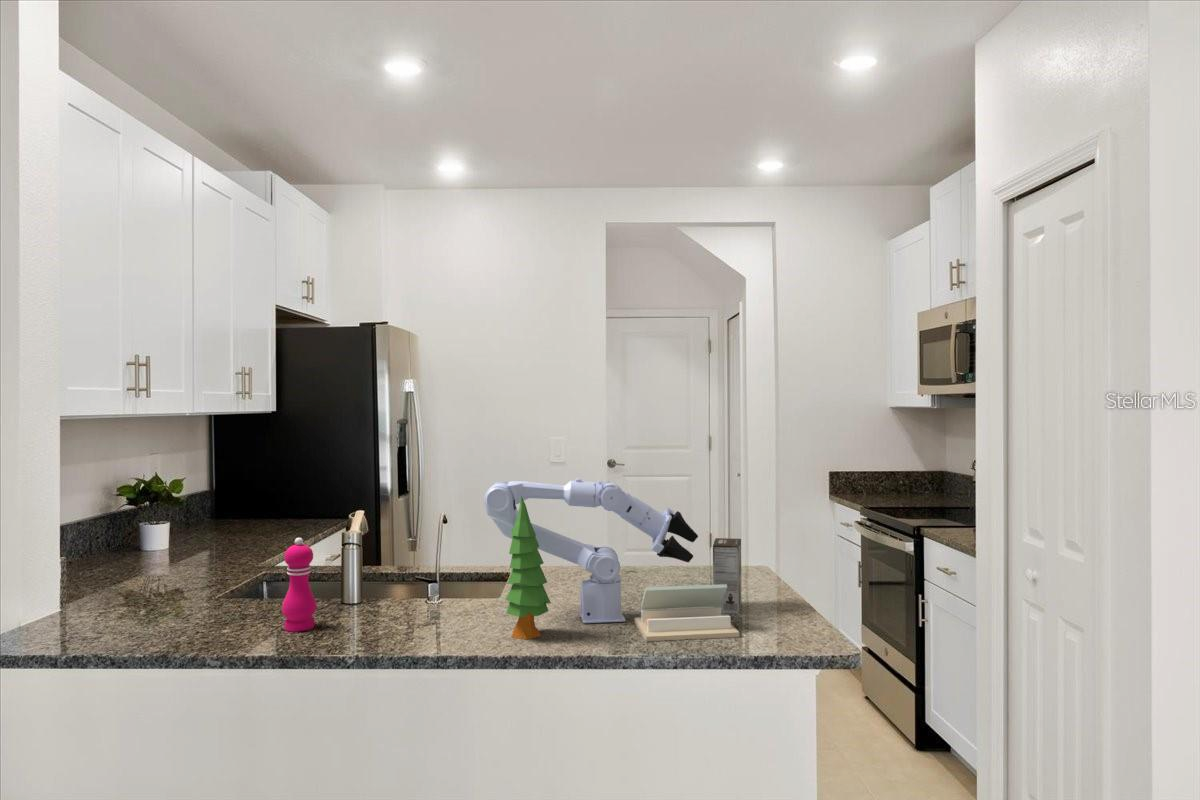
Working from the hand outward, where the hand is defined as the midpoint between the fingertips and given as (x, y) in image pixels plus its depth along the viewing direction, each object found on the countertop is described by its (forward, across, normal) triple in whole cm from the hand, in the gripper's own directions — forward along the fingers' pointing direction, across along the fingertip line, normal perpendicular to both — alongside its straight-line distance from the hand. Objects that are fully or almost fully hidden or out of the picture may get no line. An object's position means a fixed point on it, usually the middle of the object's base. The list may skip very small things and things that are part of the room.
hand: (693, 549), depth 186 cm
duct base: (+6, -16, +8) cm, 19 cm away
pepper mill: (-65, -35, +51) cm, 90 cm away
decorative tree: (-22, -27, +23) cm, 42 cm away
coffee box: (+16, +2, +11) cm, 20 cm away
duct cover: (+2, -12, +4) cm, 13 cm away
